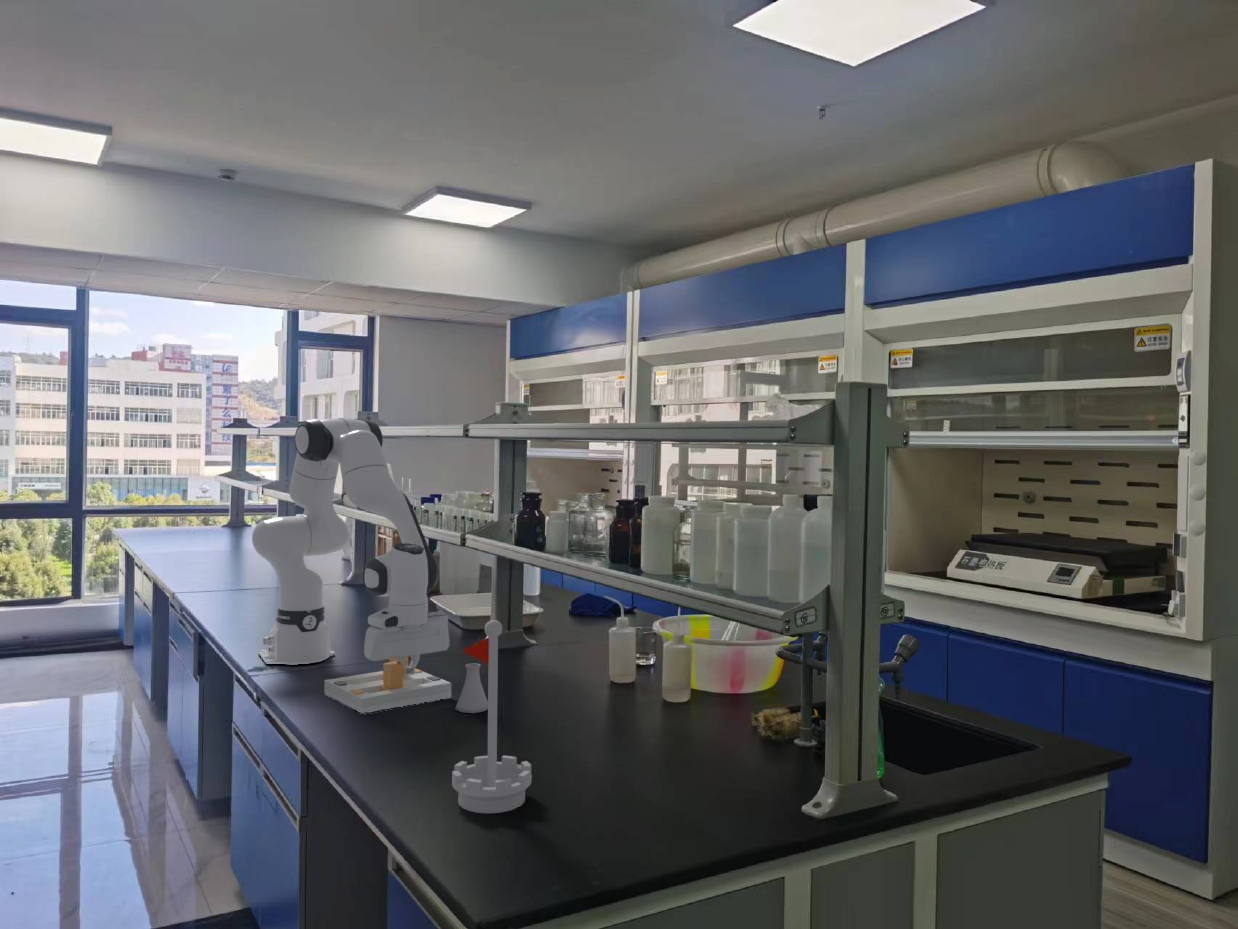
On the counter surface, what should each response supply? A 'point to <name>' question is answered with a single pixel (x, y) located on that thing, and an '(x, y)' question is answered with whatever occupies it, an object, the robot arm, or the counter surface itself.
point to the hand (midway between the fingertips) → (407, 674)
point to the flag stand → (491, 750)
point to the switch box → (369, 697)
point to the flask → (472, 692)
